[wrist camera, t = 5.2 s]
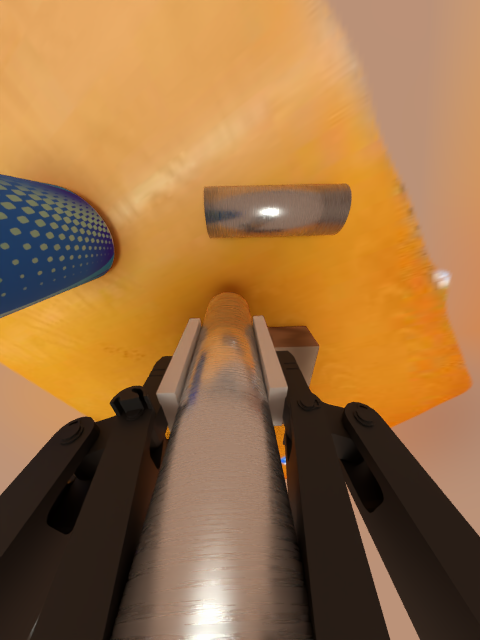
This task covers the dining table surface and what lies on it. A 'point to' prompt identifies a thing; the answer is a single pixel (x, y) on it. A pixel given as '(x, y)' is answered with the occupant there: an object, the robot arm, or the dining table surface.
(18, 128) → the dining table surface
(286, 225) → the lying peg
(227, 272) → the dining table surface
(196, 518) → the peg
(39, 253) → the beer can
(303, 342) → the socket block
